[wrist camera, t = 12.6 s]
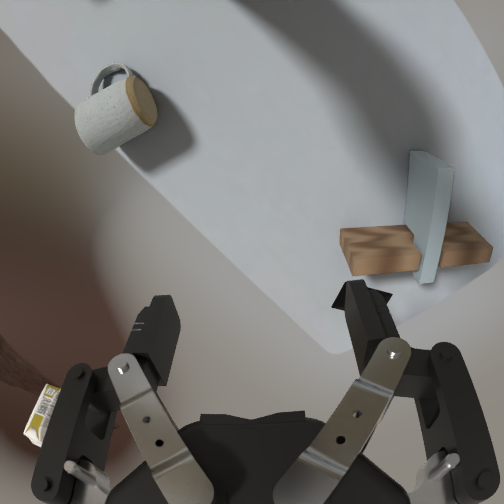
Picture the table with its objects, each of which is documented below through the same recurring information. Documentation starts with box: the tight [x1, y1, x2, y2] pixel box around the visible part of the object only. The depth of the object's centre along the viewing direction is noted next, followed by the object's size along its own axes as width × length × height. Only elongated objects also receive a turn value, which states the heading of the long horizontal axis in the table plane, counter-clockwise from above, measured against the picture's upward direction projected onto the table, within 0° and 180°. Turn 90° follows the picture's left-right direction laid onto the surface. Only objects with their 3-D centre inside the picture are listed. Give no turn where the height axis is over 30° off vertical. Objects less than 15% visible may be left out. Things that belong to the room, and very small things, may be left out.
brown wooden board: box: [340, 222, 493, 276], centre depth 39 cm, size 22×2×8 cm, turn 96°
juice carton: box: [24, 384, 61, 447], centre depth 65 cm, size 8×9×19 cm
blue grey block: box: [404, 150, 454, 284], centre depth 37 cm, size 16×2×8 cm, turn 6°
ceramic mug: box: [75, 63, 158, 155], centre depth 31 cm, size 11×8×8 cm
